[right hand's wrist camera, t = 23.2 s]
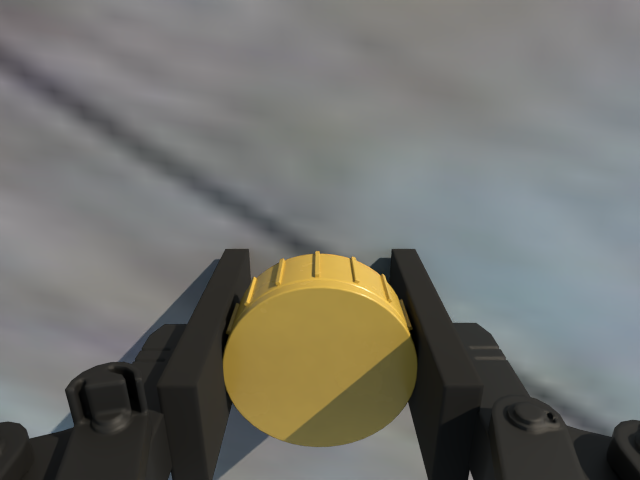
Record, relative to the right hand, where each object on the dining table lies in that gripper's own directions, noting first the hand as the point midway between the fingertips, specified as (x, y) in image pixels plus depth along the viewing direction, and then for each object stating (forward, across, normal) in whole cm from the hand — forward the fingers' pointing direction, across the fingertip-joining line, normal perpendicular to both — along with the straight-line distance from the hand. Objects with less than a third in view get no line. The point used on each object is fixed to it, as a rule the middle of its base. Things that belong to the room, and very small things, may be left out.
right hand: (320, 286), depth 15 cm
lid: (-4, 0, 0) cm, 4 cm away
